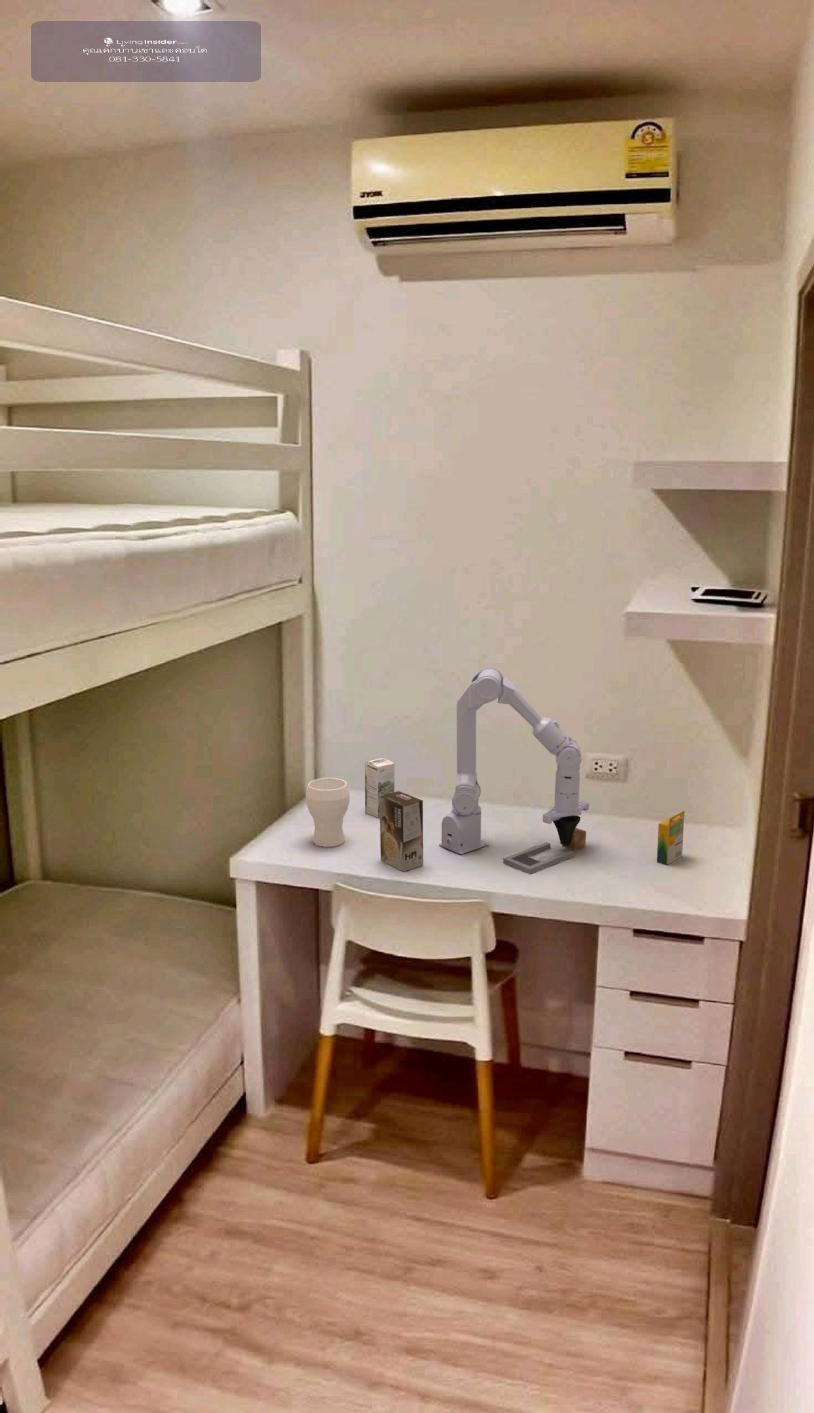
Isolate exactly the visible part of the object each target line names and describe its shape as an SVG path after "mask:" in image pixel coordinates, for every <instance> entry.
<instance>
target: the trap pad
mask: <svg viewBox="0 0 814 1413" xmlns="http://www.w3.org/2000/svg"><path fill="white" fill-rule="evenodd" d="M518 862H520V863H523V864H525V865H528V866H531V865H534V864H537V863H539V862H541V861H540V860H538V859H535V858H532V857H531V856H528V857H526V858H523V859H520V860H518Z"/></svg>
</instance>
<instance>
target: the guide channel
mask: <svg viewBox="0 0 814 1413" xmlns="http://www.w3.org/2000/svg"><path fill="white" fill-rule="evenodd" d="M551 845H552V844H551V843H550V842H547V841H546V842H544V843H541V844H539V845H536V846H535V845H534V846H532V847H530V848H527V849H525V850H522V851H519V852H516V853H514V854H510V855H509V856H505V857H503V858H502V863H503V864H505V865H507V866H509V867H512V868H514V869H516V870H518V871H520V872H521V871H522V872H524V873H527V874H528V875H531V874H533V873H534V874H535V873H536V872H538V871H542V870H544V869H546V868H549V867H551V866H554V865H556V864H559V863H560V862H561V863H562V862H563V861H567V860H568V859H571V858H574V851H573V850H568V851H565V852H563V853H560V854H558V855H555V856H552V857H549V858H547V859H544V860H542V861H540V862H539V863H537V864H534V865H531V866H528V865H525V864H523V863H520V862H518V860H520V859H523V858H526V857H531V856H534V855H536V854H539V853H541V852H544V851H546V850H549V849H551ZM548 866H549V867H548Z"/></svg>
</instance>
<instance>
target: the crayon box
mask: <svg viewBox="0 0 814 1413" xmlns="http://www.w3.org/2000/svg"><path fill="white" fill-rule="evenodd" d="M685 812H686V811H685V810H683V811H681V812H679V813H677V814H675V815H672V816H670V817H668V818H667V819H664V820H663V821H661V822H659V823H658V827H657V828H658V829H657V850H656V851H657V852H656V863H659V864H662V865H664V866H668V865H670V864H671V863H673V862H675V861H676V860H678V859H680V858H682V857H683V848H684V847H683V845H684V842H683V841H684V829H685V828H684V825H685V824H684V823H685Z"/></svg>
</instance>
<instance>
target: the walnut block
mask: <svg viewBox="0 0 814 1413" xmlns="http://www.w3.org/2000/svg"><path fill="white" fill-rule="evenodd" d="M586 840H587V831H586V830H584V829H580V828H577V827H576V828H575V830H574V833H573V836H572V839H571V842H570V845H568V846H565V845H562V844H561V847H563V848H565V849H569V850H570V851H573V852H575V851H578V850H581V849H583V848H585V847H586V846H587V845H586V844H587V842H586Z"/></svg>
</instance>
